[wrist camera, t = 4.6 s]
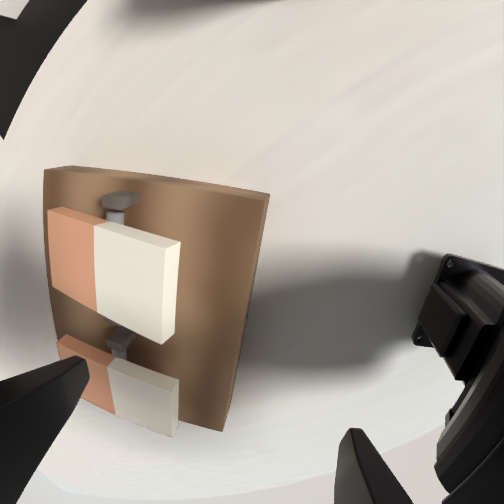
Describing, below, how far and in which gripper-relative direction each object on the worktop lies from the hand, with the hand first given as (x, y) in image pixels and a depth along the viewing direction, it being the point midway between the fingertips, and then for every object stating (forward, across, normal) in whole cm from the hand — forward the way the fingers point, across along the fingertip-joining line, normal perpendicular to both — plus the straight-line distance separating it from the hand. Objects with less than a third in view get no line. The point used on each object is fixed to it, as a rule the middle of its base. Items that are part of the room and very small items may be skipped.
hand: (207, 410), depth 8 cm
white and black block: (+12, +30, -26) cm, 41 cm away
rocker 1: (+7, +8, -1) cm, 11 cm away
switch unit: (+12, +8, +4) cm, 15 cm away
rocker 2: (+7, +8, +8) cm, 14 cm away
